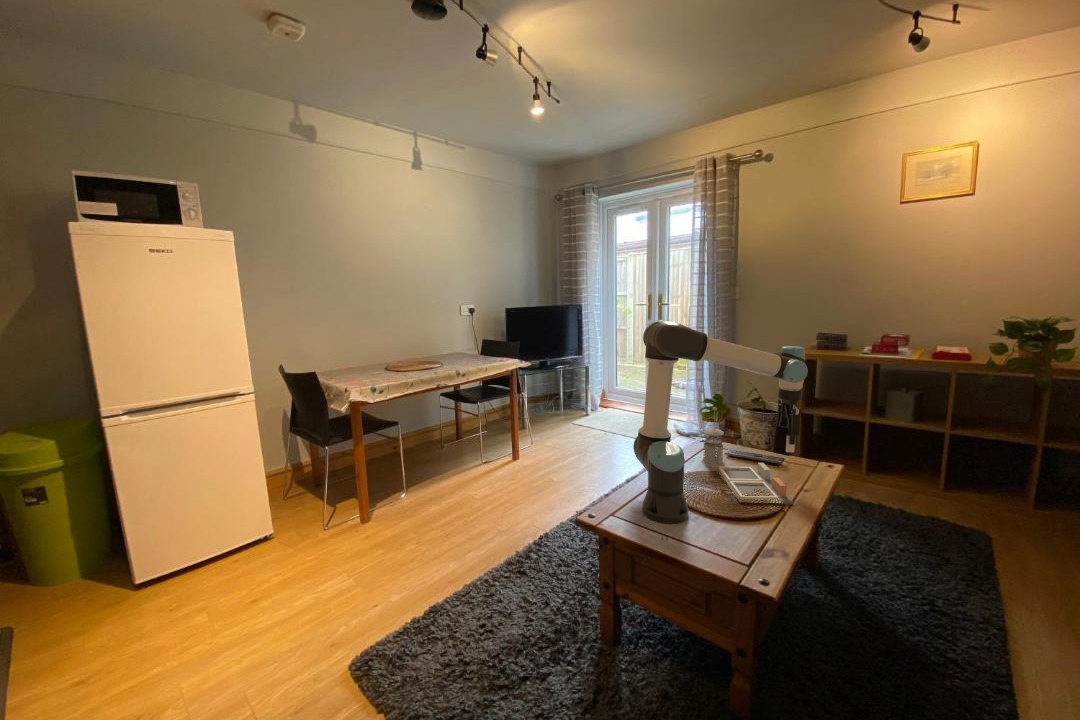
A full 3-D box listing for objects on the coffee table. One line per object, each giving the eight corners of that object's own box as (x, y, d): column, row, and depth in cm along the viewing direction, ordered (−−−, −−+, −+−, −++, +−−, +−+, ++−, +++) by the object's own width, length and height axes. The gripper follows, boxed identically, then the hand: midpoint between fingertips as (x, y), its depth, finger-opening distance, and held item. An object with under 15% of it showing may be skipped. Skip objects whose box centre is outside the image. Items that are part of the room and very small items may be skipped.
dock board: (739, 503, 154) (739, 489, 153) (716, 470, 181) (716, 458, 180) (793, 504, 152) (794, 490, 151) (761, 471, 179) (762, 459, 178)
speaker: (787, 457, 157) (790, 428, 157) (772, 452, 162) (775, 425, 162) (800, 455, 161) (803, 427, 160) (785, 451, 166) (787, 424, 165)
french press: (720, 458, 194) (723, 403, 190) (729, 468, 183) (732, 411, 179) (698, 457, 195) (699, 404, 191) (705, 468, 184) (707, 411, 180)
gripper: (814, 394, 149) (809, 458, 153) (789, 383, 168) (785, 440, 171) (791, 394, 150) (786, 458, 154) (769, 382, 169) (765, 439, 172)
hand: (785, 448), depth 162 cm, fingers closed on speaker, 6 cm apart
